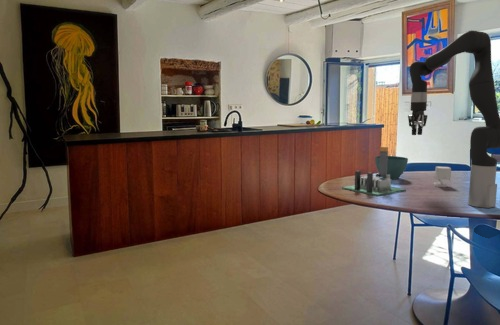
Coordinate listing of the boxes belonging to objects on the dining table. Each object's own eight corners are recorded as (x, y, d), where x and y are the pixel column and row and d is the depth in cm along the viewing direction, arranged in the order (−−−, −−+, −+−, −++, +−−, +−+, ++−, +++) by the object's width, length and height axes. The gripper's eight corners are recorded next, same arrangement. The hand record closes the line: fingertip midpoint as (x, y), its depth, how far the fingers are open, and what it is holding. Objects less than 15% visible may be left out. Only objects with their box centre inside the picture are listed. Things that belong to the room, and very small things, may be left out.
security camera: (450, 187, 205) (451, 168, 204) (435, 186, 206) (436, 168, 205) (446, 185, 211) (447, 166, 210) (432, 184, 213) (433, 166, 211)
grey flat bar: (387, 177, 200) (388, 147, 198) (385, 177, 200) (387, 147, 198) (379, 176, 204) (381, 146, 202) (378, 176, 203) (379, 146, 201)
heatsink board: (405, 190, 196) (406, 171, 195) (377, 196, 184) (378, 175, 182) (369, 184, 214) (370, 166, 213) (342, 188, 202) (342, 169, 200)
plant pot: (408, 177, 236) (409, 156, 234) (405, 182, 220) (406, 160, 218) (377, 174, 244) (378, 155, 243) (371, 179, 228) (372, 158, 227)
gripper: (417, 101, 194) (415, 135, 196) (433, 101, 202) (431, 134, 204) (403, 101, 200) (402, 135, 202) (420, 101, 208) (418, 134, 210)
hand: (416, 134), depth 203 cm, fingers open, 4 cm apart
